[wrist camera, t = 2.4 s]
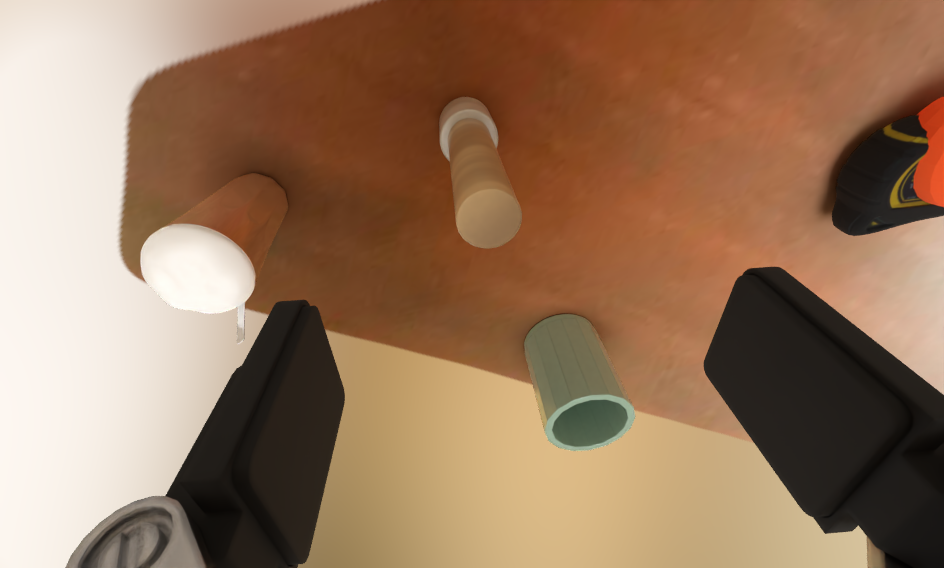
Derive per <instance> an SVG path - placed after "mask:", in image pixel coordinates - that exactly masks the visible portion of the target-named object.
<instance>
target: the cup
mask: <svg viewBox="0 0 944 568" xmlns="http://www.w3.org/2000/svg"><path fill="white" fill-rule="evenodd" d="M524 351H525V357H526V361H527V364H528V368H529V372H530V376H531V380H532V384H533V388H534V391H535V396H536V400H537V403H538V407H539V411H540V415H541V419H542V423H543V427H544V431H545V434H546V436H547V438H548V440H549V441H550V442H551V443H552V444H554V445H555V446H557V447H558V448H562V449H566V450H571V451H583V450H592V449H595V448H599V447H603V446H605V445H608V444H610V443H612V442H614V441H616V440H617V439H619V438H621V437H622V436H623V435H624V434H625V433H626V432H627V431H628V430H629V429H630V428H631V426H632V424H633V422H634V419H635V412H634V407H633V405H632V403H631V401H630V399H629V397H628V395H627V393H626V390H625V388H624V386H623V384H622V382H621V380H620V378H619V376H618V374H617V372H616V370H615V368H614V366H613V364H612V362H611V360H610V357H609V355H608V353H607V351H606V349H605V347H604V345H603V343H602V341H601V339H600V337H599V335H598V333H597V331H596V330H595V328H594V326H593V325H592V324H591V322H589V321H588V320H587V319H585V318H583V317H581V316H578V315H573V314H560V315H555V316H551V317H549V318H546V319H544V320H542V321H541V322H539V323H538V324H536V325H535V326H534V327H533V328H532V329H531V330H530V331H529V333H528V334H527V336H526V339H525V342H524Z"/></svg>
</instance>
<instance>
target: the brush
mask: <svg viewBox="0 0 944 568" xmlns="http://www.w3.org/2000/svg"><path fill="white" fill-rule="evenodd" d="M439 135H440V146H441V149H442V152H443V154H444V155H445V157H446V158H447V159H448V160H449V161H450V169H451V178H452V188H453V197H454V207H455V217H456V225H457V229H458V231H459V233H460V235H461V236H462V238H463V239H464V240H465V241H467V242H468V243H469V244H471V245H473V246H476V247H479V248H495V247H499V246H501V245H503V244H505V243H507V242H508V241H510V240H511V239H512V238H513V237H514V236H515V235H516V233H517V232H518V230H519V228H520V225H521V221H522V212H521V208H520V205H519V203H518V200H517V198H516V195H515V193H514V191H513V188H512V186H511V183H510V181H509V178H508V176H507V174H506V171H505V169H504V166H503V164H502V161H501V159H500V156H499V154H498V152H497V145H498V131H497V128H496V125H495V123H494V121H493V119H492V117H491V115H490V113H489V111H488V109H487V108H486V106H485V105H484V104H483V103H481V102H480V101H479V100H477V99H474V98H471V97H461V98H457V99H455V100H453V101H451V102H450V103H449V104H447V106H446V107H445V108H444V109H443V111H442V113H441V116H440V120H439Z"/></svg>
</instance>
